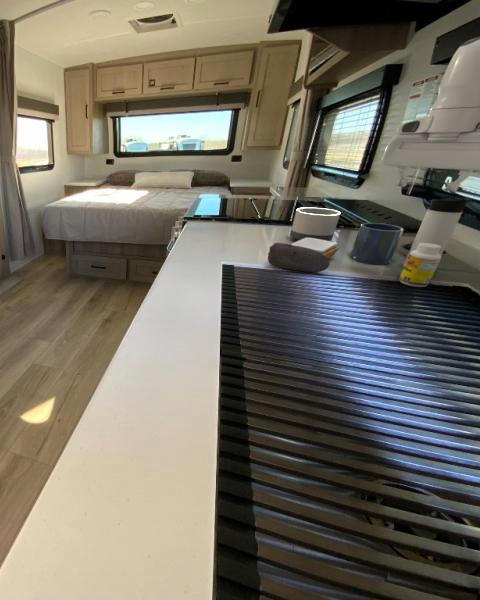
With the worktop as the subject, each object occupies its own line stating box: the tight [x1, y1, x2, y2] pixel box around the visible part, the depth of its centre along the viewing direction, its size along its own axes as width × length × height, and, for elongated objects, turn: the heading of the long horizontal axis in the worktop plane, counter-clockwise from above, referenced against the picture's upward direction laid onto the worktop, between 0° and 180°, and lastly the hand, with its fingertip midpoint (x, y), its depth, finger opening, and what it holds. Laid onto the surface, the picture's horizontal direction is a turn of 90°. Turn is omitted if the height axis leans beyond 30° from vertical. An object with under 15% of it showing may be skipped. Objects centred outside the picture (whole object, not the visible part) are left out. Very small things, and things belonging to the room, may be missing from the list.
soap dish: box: [290, 238, 340, 260], centre depth 102 cm, size 12×10×5 cm
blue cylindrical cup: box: [349, 222, 405, 266], centre depth 99 cm, size 10×10×10 cm
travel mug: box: [401, 198, 471, 270], centre depth 87 cm, size 6×7×20 cm
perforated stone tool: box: [267, 242, 331, 273], centre depth 93 cm, size 15×5×7 cm, turn 52°
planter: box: [289, 207, 341, 242], centre depth 117 cm, size 13×13×10 cm
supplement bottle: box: [398, 243, 442, 288], centre depth 82 cm, size 6×6×10 cm
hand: (424, 188), depth 80 cm, fingers open, 8 cm apart
